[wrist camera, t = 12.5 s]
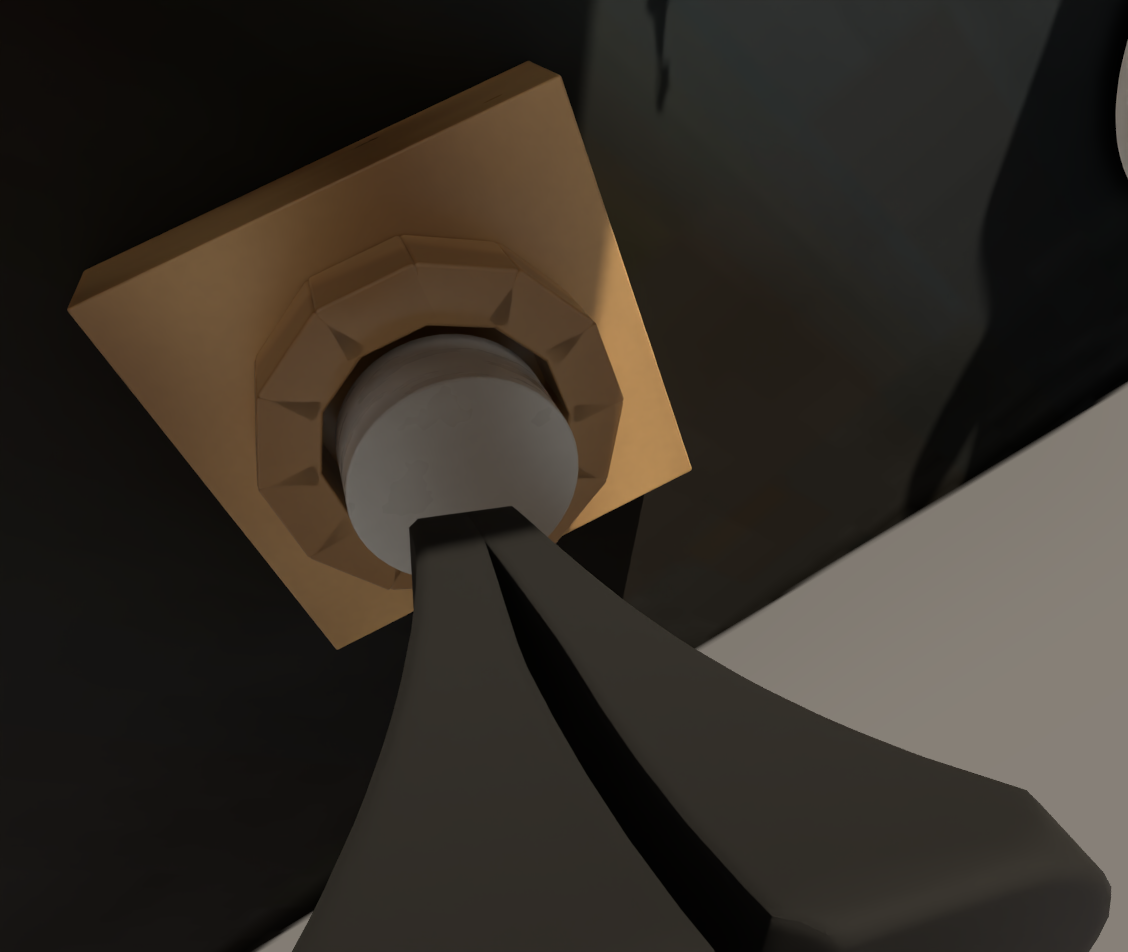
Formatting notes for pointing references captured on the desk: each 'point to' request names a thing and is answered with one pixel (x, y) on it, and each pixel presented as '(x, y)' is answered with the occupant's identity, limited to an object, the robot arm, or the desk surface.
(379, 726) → the desk surface
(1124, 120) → the teacup
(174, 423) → the lid base
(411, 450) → the flask lid
